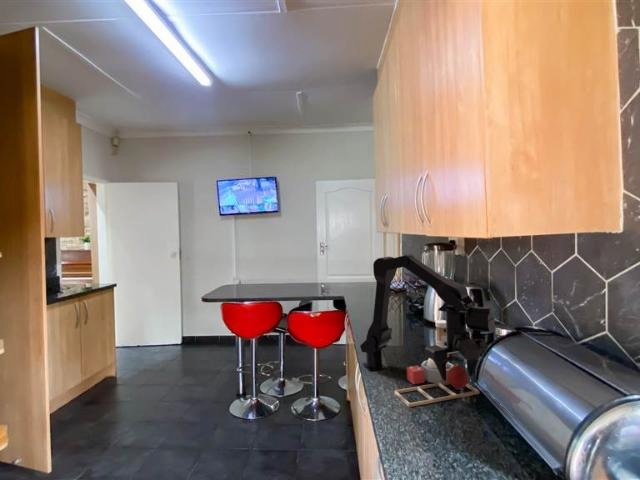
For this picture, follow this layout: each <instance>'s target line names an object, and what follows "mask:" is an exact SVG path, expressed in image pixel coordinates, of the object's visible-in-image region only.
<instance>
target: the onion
mask: <svg viewBox="0 0 640 480" xmlns="http://www.w3.org/2000/svg"><path fill="white" fill-rule="evenodd" d="M448 381H449V383H450V384H449V385H451V386H452V387H453V388H454V389H456V390H461V389H463V388H464V387H466V385H467V384H469V374H468V372H467V371H466V369H464V368H463V367H462V366H460V364H459V363H457V362H456V363H454V367H452V368H451V369H450V370H449V372H448Z"/></svg>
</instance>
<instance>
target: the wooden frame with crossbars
mask: <svg viewBox="0 0 640 480" xmlns="http://www.w3.org/2000/svg"><path fill="white" fill-rule="evenodd" d="M447 385H451V384H450V383H449V381H446V382H440V383H430V384H423V385H419V386H413V387H407V388H401V389H395V390H393V394H394V395H395V396H396V397H398V398H399V400H401V401H402V402H403V403H404V404H405V405H406V406H408V408H411V407H416V406H421V405H428V404H434V403H437V402H442V401H443V402H444V401H448V400H453V399H458V398H465V397H470V396H473V395H479V394H480V390H479V389H477V388H476V387H474V386H472V385H470V384H469V383H467V385H466V386H465V387H467V388H468V389H469V390H471V391H466V392H463V393H455V392H454V391H452V390H450V389H449V388H448V387H446V386H447ZM436 387H439V388H440V389H442V390H443V391H445V392H446V393H448V394H450V395H447V396H442V397H441V396H440V397H436V398H434V397H432V396H431V395H429V394H428V393H427V392H425V391H424V390H425V389H430V388H436ZM413 391H418V392H419V393H420V394H422V395H423V396H424V397H425V398H427V399H425V400H419V401H415V402H409V401H408V400H407V399H406V398H405V397H404V396H403V395H402V393H403V394H404V393H408V392H413Z"/></svg>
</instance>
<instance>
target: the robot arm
mask: <svg viewBox="0 0 640 480" xmlns="http://www.w3.org/2000/svg"><path fill="white" fill-rule="evenodd" d="M372 267H373V268H372V269H373V277H374V279H375V283H376V284H375V285H376V287H375V297H374V305H373V306H374V307H373V315H372V322H371V325H370V326H369V328H368V330H367V334H366V338H365V341H363V343H361V344H360V350H361V353H365V360H366V361H365V362H363V363H362V365H363V367H365V368H366V369H367V370H368V371H370V372H372V371H378V370H384V369H385V370H386V369H387V366H386V365H385V364H384V363H383V349H386V347H387V345H388V343H390V341H391V340H392V338H393V337H392V333H393V332H392V331H393V328H392V327H389V326H388V325H389V324H388V313H389V304H390V294H391V284H392V282H393V280H394V278H395V276H396V274H397V270H398V269H400V268H405V269H406V270H407V271H409V272H410V273H411V274H413V275H414V276H416V277H417V278H418V279H420V280H421V281H423V282H424V283H425V284H426V285H428V286H429V287H431V289H433V290H434V292H435V293H436V295H437V296H438V297H439V298H440V299H441V300H442V301H443V302H444V303H442V305H441V306H440V307H438V311H439V312H444V313H445V321H446V328H444V332H445V333H446V339H447V341H446V342H444V345H445V346H447V348H441V347H439V346H437V345H430V346H429V345H428V346H426V347H425V348H424V356H425V357H427V358H428V359H429V358H430V359H432V360H433V361H434V363H435V364H436V366H437V368H438V370H439V372H440V375H441V377H442V379H443V380H444V381H446V364H447V362H449V360H447V359H448V357H447V355H448V354H449V355H452V354H458V353H459V354H460V355H461V356H462V357H463V358H464V359H465V361H466V367H467V371H468V372H467V374H468V376H470V377H473V375H474V373H475V370H476V367H477V364H478V362H479V360H480V359H481V358H480V357H481V356H482V354H483V353H484V352H485V349H486V348H487V347H489V345H488V343H486V341H485V339H483V338H480V339H479V338H478V339H477V338H476V339H472V338H471V337H472V336H471V333H470V331H468V330H467V328H469V330H472V331H479V332H486V333H493V331H494V329H495V325H496V324H495V323H496V320H495V319H496V318H495V316H494V312H493V311H492V307H488V306H485V307H483V306H482V307H481V306H477V304H476V303H475V302H474V300H473V299H472V298H471V296H470V295H469V292H468V289H467V287H466V286H465V285H463V284H461V283H459V282H457V281H456V280H452V279H449V278H446V277H444V276H442V275H441V274H439V273H438V272H436V271H435V270H434V269H432V268H431V267H429V266H427V265H426V264H424V263H423V262H422V261H420V260H419V259H418V258H416V257H415V256H414V255H413V254H409V253H408V254H403V255H400V256H398V257H397V256H396V257H392V256H383V257H378V258H376V259H375V260H374V261H373V265H372Z"/></svg>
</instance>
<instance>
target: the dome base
mask: <svg viewBox="0 0 640 480" xmlns="http://www.w3.org/2000/svg"><path fill="white" fill-rule="evenodd" d="M426 363H428V359H427V360H424V361H423V362H422V363H421V364H420V366H419V365H412V366H408V367H407V366H406V379H407V380H408V381H409V382H410V383H411V385H417V384H423V383H424V384H425V383H426V382H427V383H431V384H435V383H440V382H446V381H448V372H449V370H450V369H451V368H452V367H454V366H455V364H453V363H450V361H448V362H447V364H448V365H449V369H446V381H444V380H443V379H442V377H441V375H440V372H439V370H435V369H429V368H428V367H426Z"/></svg>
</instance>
